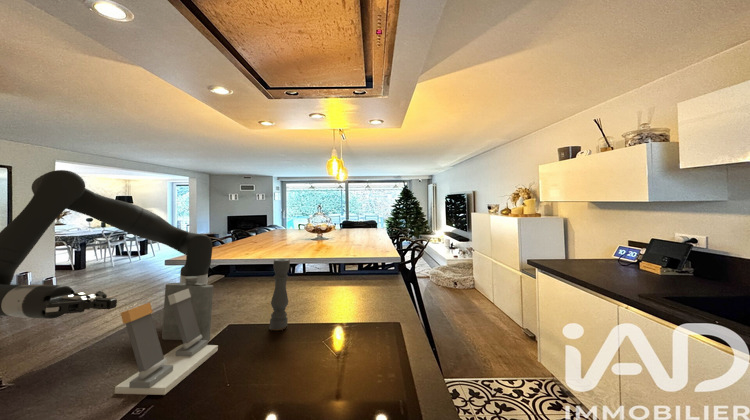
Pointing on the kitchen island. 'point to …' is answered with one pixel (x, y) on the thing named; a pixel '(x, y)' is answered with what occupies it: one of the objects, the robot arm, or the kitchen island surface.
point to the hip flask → (200, 304)
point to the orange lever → (144, 339)
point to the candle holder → (280, 294)
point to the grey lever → (185, 317)
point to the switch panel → (169, 370)
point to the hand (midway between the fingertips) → (113, 303)
